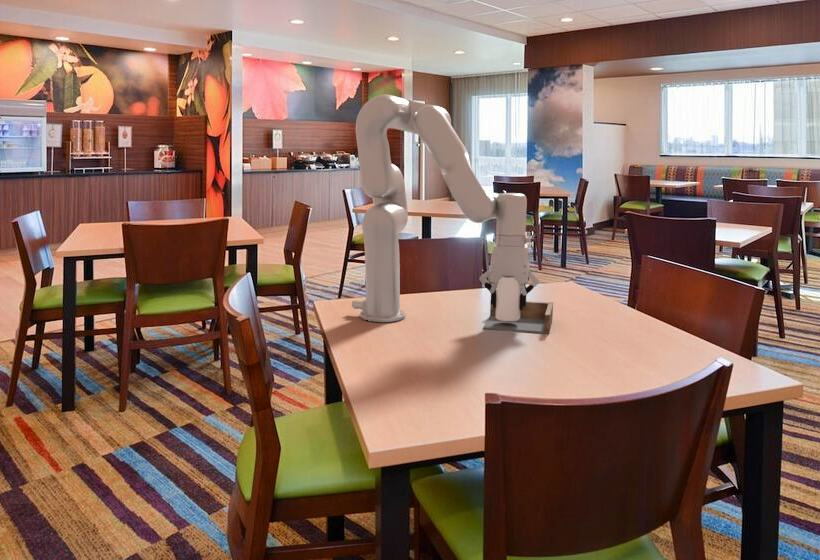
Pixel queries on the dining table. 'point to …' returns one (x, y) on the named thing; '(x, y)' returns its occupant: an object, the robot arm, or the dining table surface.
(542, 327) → the mat
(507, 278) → the can
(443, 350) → the dining table surface
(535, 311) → the corner walls
